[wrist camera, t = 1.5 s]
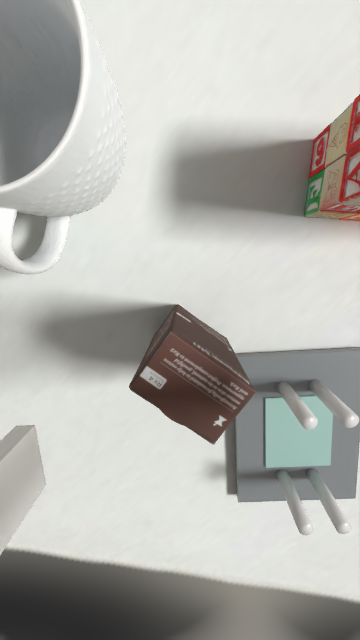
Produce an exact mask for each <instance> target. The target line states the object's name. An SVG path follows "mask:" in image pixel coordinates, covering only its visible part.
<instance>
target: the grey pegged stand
mask: <svg viewBox="0 0 360 640" xmlns="http://www.w3.org/2000/svg"><path fill="white" fill-rule="evenodd" d="M235 355H236V357H237V359H238V360H239V362H240V364H241V366H242V368H243V369H244V372H245V373H246V375H247V377H248V379H249V380H250V382H251V384H252V386H253V388H254V389H255V390H256V393H255V394H254V396H253V397H252V398H251V399H250V401H249V402H248V403H247V404H246V406H245V407H244V408H243V409H242V410H241V412H240V413H239V414H238V415H237V416H236V418H235V448H236V483H237V498H238V502H262V501H287V503H288V505H289V508H290V510H291V513H292V515H293V518H294V520H295V523H296V525H297V527H298V530H299V532H300V533H301V534H303V535H309V534H311V533H312V532H313V530H314V528H313V525H312V523H311V521H310V519H309V517H308V514H307V512H306V510H305V508H304V506H303V504H302V502H301V500H320V501H321V503H322V505H323V506H324V508H325V510H326V512H327V514H328V516H329V517H330V519H331V521H332V523H333V525H334V526H335V528H336V530H337V532H338V533H340V534H346V533H348V532H349V531H350V530H351V524H350V523H349V521H348V520H347V518H346V516H345V515H344V513H343V511H342V510H341V508H340V507H339V505H338V503H337V502H336V500H335V499H353V498H355V497H356V483H357V469H358V456H359V442H360V347H353V348H335V349H316V350H298V351H279V352H261V353H242V354H235Z"/></svg>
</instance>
